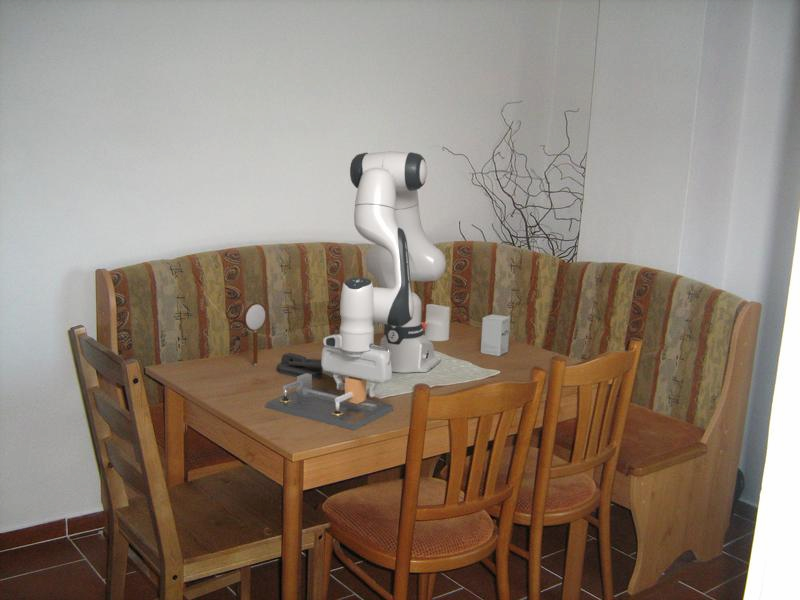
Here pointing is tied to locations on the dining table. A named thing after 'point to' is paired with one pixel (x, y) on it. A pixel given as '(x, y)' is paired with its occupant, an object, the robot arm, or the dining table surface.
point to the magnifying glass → (255, 323)
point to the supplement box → (495, 335)
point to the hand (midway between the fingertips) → (355, 392)
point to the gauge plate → (326, 405)
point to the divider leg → (353, 391)
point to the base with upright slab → (437, 322)
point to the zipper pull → (299, 366)
